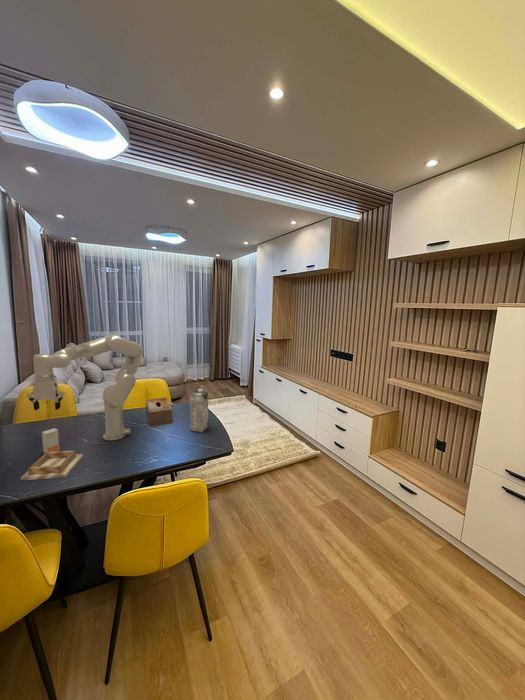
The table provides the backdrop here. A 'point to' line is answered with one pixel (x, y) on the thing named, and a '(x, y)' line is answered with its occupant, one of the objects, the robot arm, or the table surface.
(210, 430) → the table surface
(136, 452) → the table surface
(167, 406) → the tissue box cover
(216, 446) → the table surface
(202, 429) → the grey faceted bottle
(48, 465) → the socket stand
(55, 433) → the skincare box
